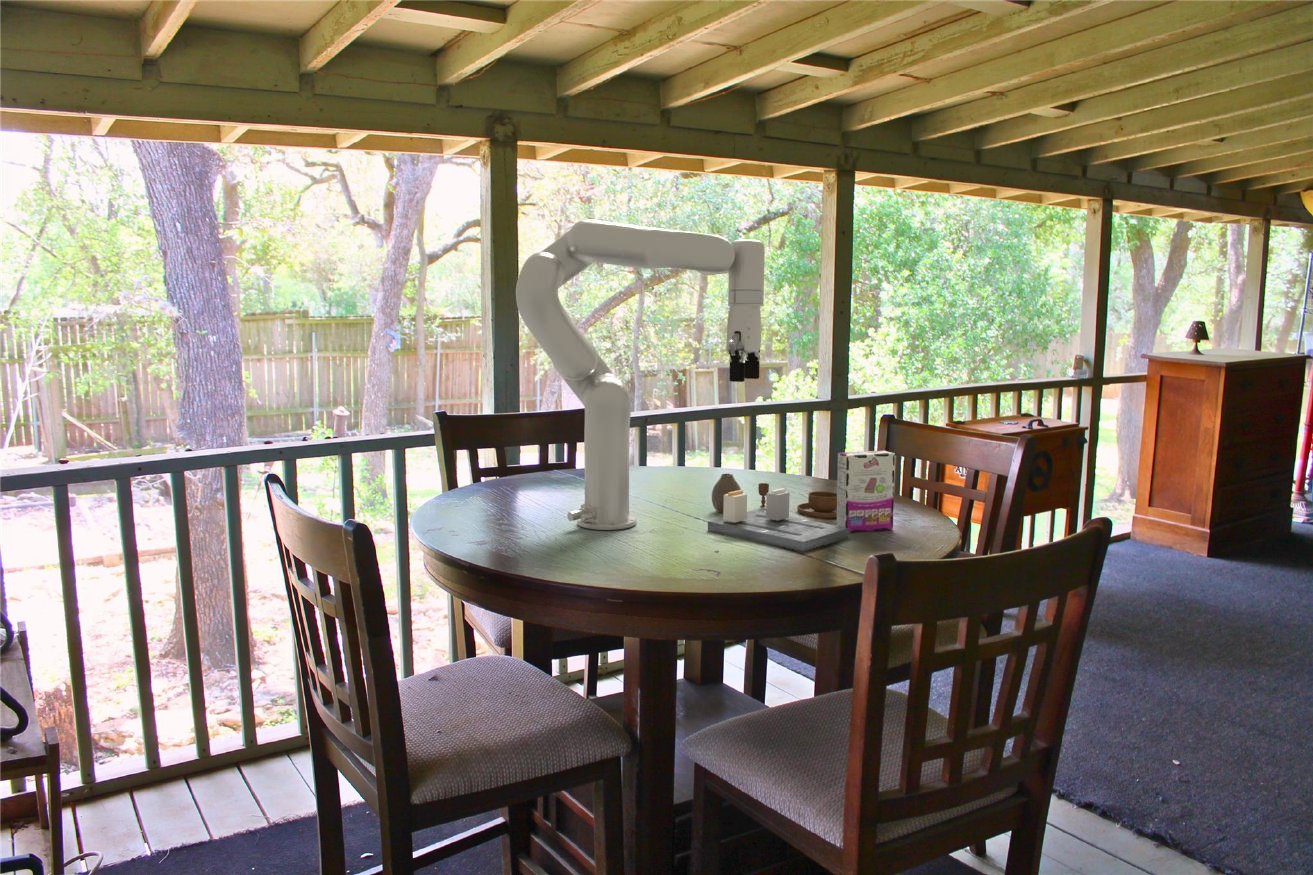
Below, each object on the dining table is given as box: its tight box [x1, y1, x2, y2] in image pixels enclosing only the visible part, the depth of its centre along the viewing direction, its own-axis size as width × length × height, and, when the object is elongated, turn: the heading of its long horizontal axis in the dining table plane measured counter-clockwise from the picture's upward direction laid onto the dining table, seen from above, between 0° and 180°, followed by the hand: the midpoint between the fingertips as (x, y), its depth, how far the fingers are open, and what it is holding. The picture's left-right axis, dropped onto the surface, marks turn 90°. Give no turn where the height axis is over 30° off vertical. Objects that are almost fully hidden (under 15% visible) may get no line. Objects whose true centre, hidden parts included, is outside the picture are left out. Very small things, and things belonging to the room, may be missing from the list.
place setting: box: [758, 482, 837, 519], centre depth 211 cm, size 18×20×6 cm
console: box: [707, 509, 850, 553], centre depth 187 cm, size 16×24×2 cm, turn 46°
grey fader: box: [765, 487, 791, 521], centre depth 191 cm, size 4×3×6 cm
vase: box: [711, 473, 742, 514], centre depth 207 cm, size 7×7×9 cm
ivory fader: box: [722, 489, 748, 523], centre depth 189 cm, size 4×3×6 cm
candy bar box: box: [836, 450, 896, 533], centre depth 191 cm, size 11×5×16 cm, turn 105°
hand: (744, 380), depth 195 cm, fingers open, 9 cm apart
